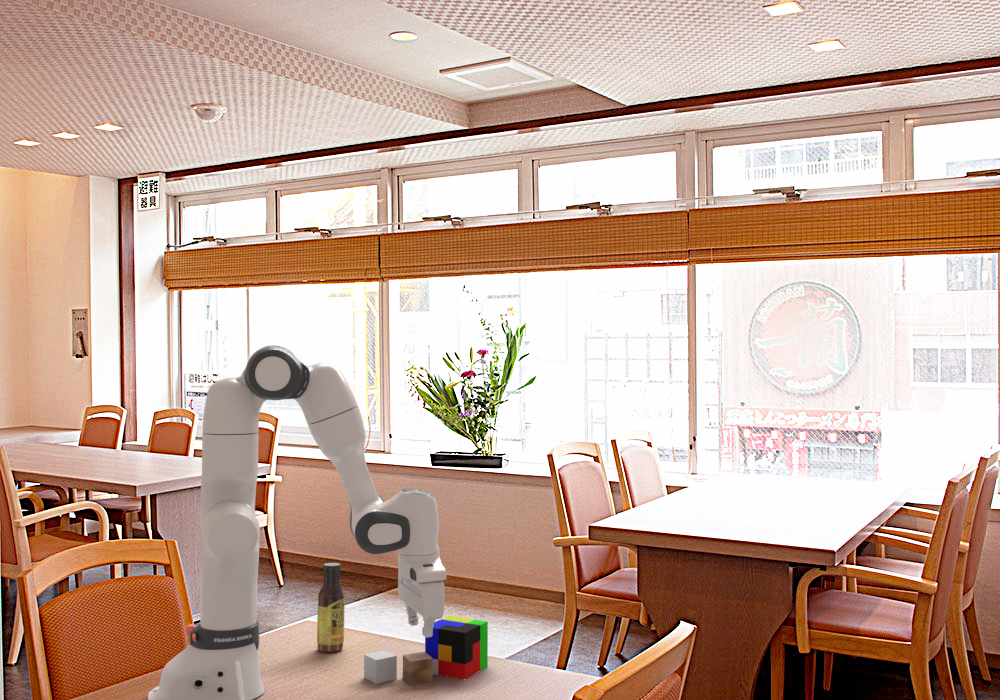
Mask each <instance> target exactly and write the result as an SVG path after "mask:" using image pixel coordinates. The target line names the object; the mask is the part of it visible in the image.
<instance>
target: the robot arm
mask: <svg viewBox="0 0 1000 700" xmlns="http://www.w3.org/2000/svg"><path fill="white" fill-rule="evenodd" d="M346 379H347V378H345V376H344V374H343V373H342V371H341V369H339V367H338V366H336V365H335V364H333V363H330V362H318V363H315V364H312V365H306V364H305V363H304V362H303V361H301V360H300V359H299V358H297V357H296V356H295V353H293V352H292V351H290V350H289V349H287V348H286V347H283V346H280V345H274V344H273V345H266V346H263V347H260V348H259V349H257V350H255V352H253V353H252V355H251V356H250V357H249V359H248V361H247V362H246V366H245V369H244V370H243V372H242V373H241V375H240V376H237V377H227V378H222V379H220V380H217V381H215V382H214V383H212V385H210V387H209V388H208V390H207V394H206V398H205V403H204V410H203V417H202V432H201V433H202V434H201V435H202V437H201V438H202V439H201V440H202V443H201V444H202V445H201V446H202V447H201V482H200V504H199V507H200V508H199V528H200V529H199V530H200V536H201V569H200V570H201V572H200V607H199V608H200V609H199V610H200V616H199V617H200V619H199V620H200V621H199V624H198V625H197V626H196V625H195V624H193V623H189V624H187V625H186V627H185V632H186V635H187V636H189V645H188V646H187V647H185V648H184V649H182V650H181V652H179V653H178V654H177V655H176V656H174V657H173V658H172V659H170V660H169V661H168V662H167V663H166V664H165V665H164V666H163V669H162V672H161V674H160V675H161V676H160V681H159V683H158V684H159V685H157V686H155V687H154V688H152V689H151V690H149V692H148V695H147V700H255V699H256V698H258V697H260V696H262V694H264V692H265V689H266V688H265V685H264V682H263V678H262V674H261V669H260V662H259V652H258V651H259V648H260V647H259V646H260V623H259V621H258V617H257V616H258V615H257V613H258V610H257V609H258V602H257V601H258V598H257V597H258V577H259V576H258V574H259V564H260V563H259V561H260V560H259V559H260V540H261V539H260V538H261V537H260V536H261V527H260V523H259V520H258V518H257V517H256V497H257V496H256V494H257V492H256V491H257V482H258V473H259V435H260V434H259V426H260V424H259V423H260V422H259V420H260V411H261V408H262V406H263V404H264V403H265V402H266V401H282V400H294V401H296V402H297V403H298V405H299V407H300V409H301V411H302V413H303V416H304V419H305V421H306V424H307V426H308V429H309V431H310V433H311V435H312V437H313V438H312V439H314V441H315V443H316V445H317V447H318V448H319V449H320V452H321V453H322V454H323V455H324V456H325V457H326V458H327V459H328V460H329V461H330V462H331V463H332V465H333V466H334V467H335V469H336V471H337V473H338V476H339V477H340V480H341V482H342V485H343V488H344V491H345V493H346V496H347V499H348V502H349V506H350V514H349V528H350V531H351V534H352V535H353V537H354V539H355V541H356V544H357V545H358V546H359V548H360V549H361V550H362V551H364V552H365V553H367V554H371V555H383V554H386V553H391V552H395V551H397V566H398V567H397V568H398V571H397V572H398V576H397V577H398V579H397V595H398V599H399V600H400V601H402V602H403V603H404V604H405V609H406V610H405V611H406V614H407V616H408V617H407V619H408V621H407V622H408V625H410V626H412V627H414V626H418V625H419V616H418V614H419V615H420V616H421V617H422V620H423V627H422V629H421V631H422V636H423V637H424V638H425V637H426V638H427V637H432V636H433V626H434V623H435V622H436V620H441V619H443V616H444V612H445V602H446V601H445V599H446V598H445V593H446V590H445V583H444V581H446V580H447V570H446V568H445V566H444V565H443V563H442V560H441V557H440V553H441V552H440V551H441V550H440V547H439V542H438V538H439V537H438V535H439V532H440V518H439V516H440V515H439V508H438V502H437V500H436V499H437V498H436V497H435V496H434V495H433V494H432V493H430V492H429V491H427V490H423V489H418V488H403V489H401V490H400V491H399V492H398V493H396V494H395V495H394V496H392V497H391V498H389V499H387V500H384V499H383V498H382V497H381V495H380V494H379V493H378V491H377V489H376V486H375V484H374V480H373V478H372V476H371V473H370V470H369V467H368V465H367V462H366V457H365V443H366V430H365V425H364V421H363V418H362V417H363V416H362V414H361V413H362V412H361V411H360V408H359V405H358V402H357V400H356V398H355V396H354V392H353V391H352V389H351V387H350V385H349V382H348V381H347V380H346Z"/></svg>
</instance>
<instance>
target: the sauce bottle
mask: <svg viewBox="0 0 1000 700" xmlns="http://www.w3.org/2000/svg"><path fill="white" fill-rule="evenodd" d="M322 569H323V581H322V582H323V584H322V586H321V588H320V590H319V592H318V597H317V598H318V602H317V618H316V619H317V621H316V622H317V623H316V625H317V626H316V643H317V650H318V651H319V652H323V653H334V652H339V651H341V650H343V647H344V642H345V609H346V608H345V604H346V603H345V601H346V600H345V599H346V598H345V595H344V591H343V588H342V585H341V580H340V579H341V578H340V577H341V576H340V575H341V569H342V568H341V563H339V562H328V563H327V562H326V563H324V564H323V566H322Z"/></svg>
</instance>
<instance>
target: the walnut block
mask: <svg viewBox="0 0 1000 700" xmlns="http://www.w3.org/2000/svg"><path fill="white" fill-rule="evenodd" d="M433 675H434V674H433V658H432V657H431V656H429V655H428V654H427V653H426V652H425V651H419V652H413V653H411V652H410V653H404V654H402V679H403V680H405V681H406V683H407V684H408V686H413V685H420V684H427V683H432V682H433V679H434V677H433Z"/></svg>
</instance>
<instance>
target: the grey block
mask: <svg viewBox="0 0 1000 700" xmlns="http://www.w3.org/2000/svg"><path fill="white" fill-rule="evenodd" d="M397 658H398V657H397V655H396V654H394V653H392V652H390V651H387V650H386V649H383V650H379V651H374V652H370V653H364V654H363V678H364V679H366V680H368V681H370V682H371V683H374V684H375V685H377V684H381V683H385V682H390V681H394V680H398V679H397V678H398V677H397V675H398V674H397V673H398V670H397V669H398V668H397V666H398V665H397V662H398V660H397Z"/></svg>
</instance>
